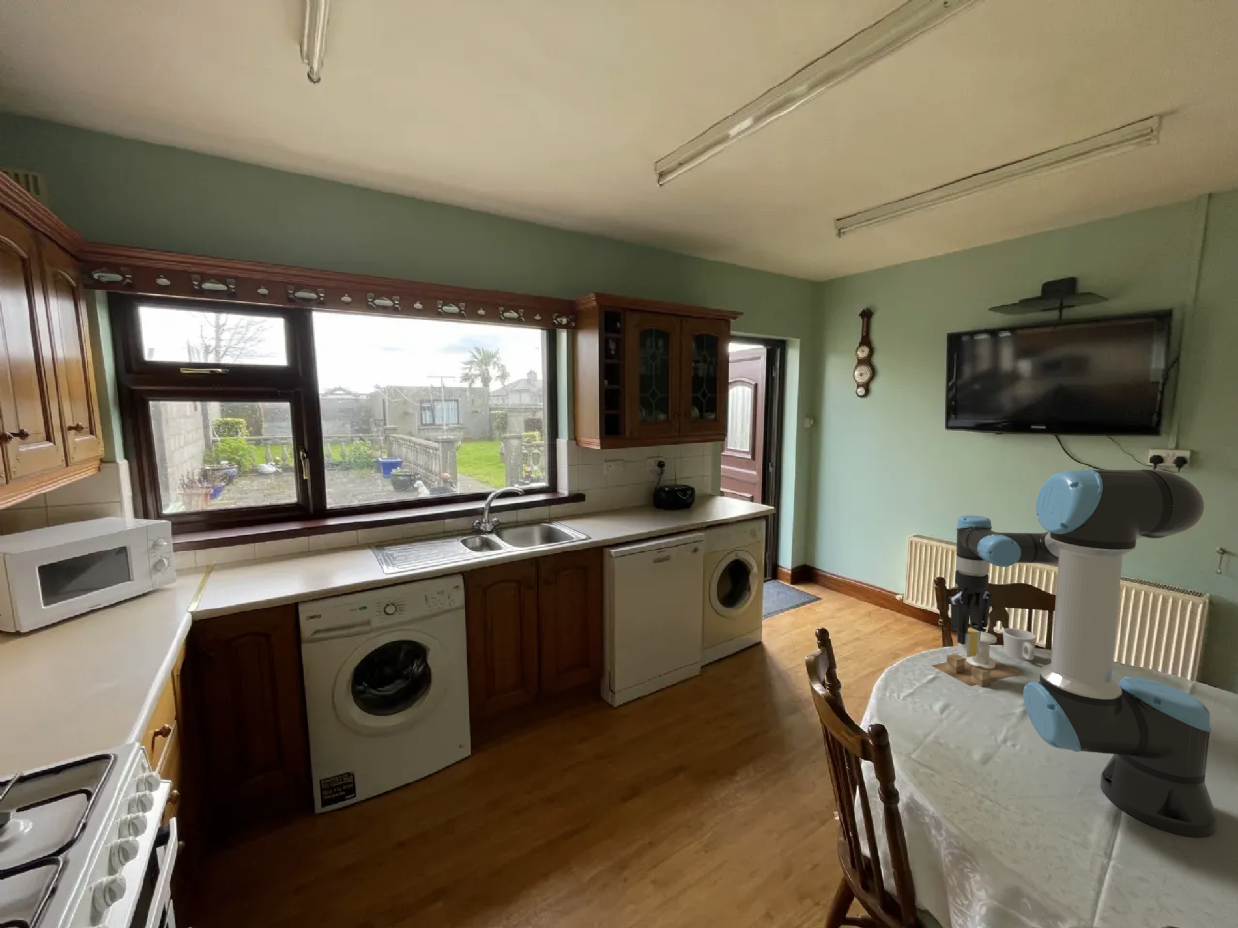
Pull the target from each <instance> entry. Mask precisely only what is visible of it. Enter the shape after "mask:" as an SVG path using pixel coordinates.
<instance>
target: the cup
mask: <svg viewBox="0 0 1238 928" xmlns="http://www.w3.org/2000/svg"><path fill="white" fill-rule="evenodd" d="M1002 637H1003V650H1004V654H1005V655H1006V656H1008V657H1010V658H1012V659H1016V660H1021V661H1033V659H1034V658H1035V648H1036V645H1037V644H1036V642H1037V636H1036V634H1035V633H1032V632H1030V631H1028V630H1024V629H1021V628H1014V627H1010V628H1004V629H1003V630H1002Z"/></svg>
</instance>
